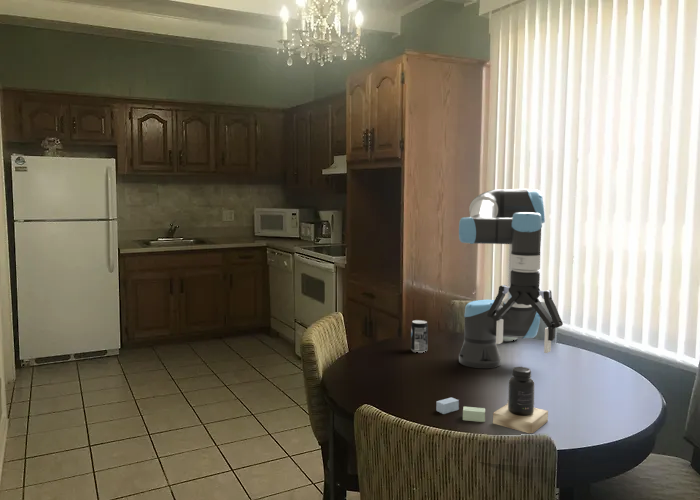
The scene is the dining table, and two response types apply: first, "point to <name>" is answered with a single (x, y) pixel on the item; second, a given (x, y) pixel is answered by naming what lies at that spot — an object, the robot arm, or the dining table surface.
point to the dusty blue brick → (447, 405)
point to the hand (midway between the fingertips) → (522, 347)
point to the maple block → (520, 419)
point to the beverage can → (419, 336)
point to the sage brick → (474, 414)
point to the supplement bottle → (521, 392)
